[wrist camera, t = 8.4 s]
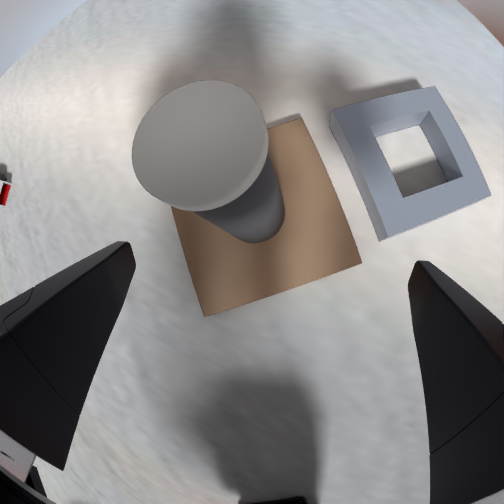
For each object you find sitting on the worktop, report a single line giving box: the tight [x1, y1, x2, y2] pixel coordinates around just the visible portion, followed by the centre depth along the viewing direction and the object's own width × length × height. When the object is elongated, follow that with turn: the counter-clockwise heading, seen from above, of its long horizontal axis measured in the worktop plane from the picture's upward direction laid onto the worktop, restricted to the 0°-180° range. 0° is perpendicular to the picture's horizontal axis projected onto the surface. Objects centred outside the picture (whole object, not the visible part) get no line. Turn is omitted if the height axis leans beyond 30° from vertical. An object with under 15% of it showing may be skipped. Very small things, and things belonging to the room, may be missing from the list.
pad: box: [171, 118, 362, 317], centre depth 22 cm, size 12×12×1 cm
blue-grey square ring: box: [329, 86, 491, 242], centre depth 20 cm, size 10×10×3 cm
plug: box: [132, 80, 285, 243], centre depth 16 cm, size 5×5×12 cm
